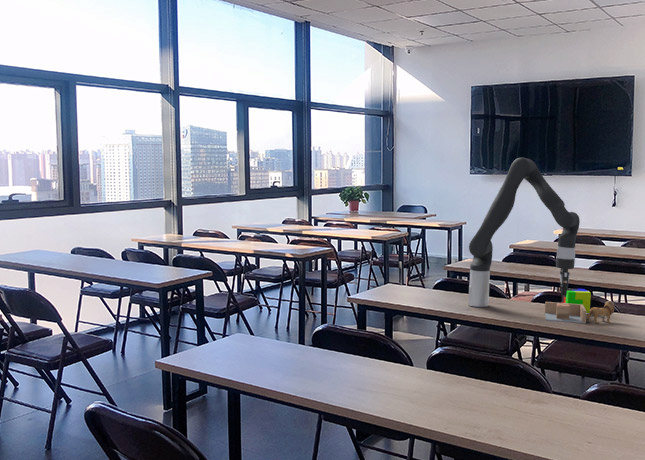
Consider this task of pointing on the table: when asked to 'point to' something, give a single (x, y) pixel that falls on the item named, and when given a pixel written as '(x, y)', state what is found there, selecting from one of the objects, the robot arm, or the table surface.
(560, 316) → the block
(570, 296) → the puzzle toy
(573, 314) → the arena
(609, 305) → the lion figurine
